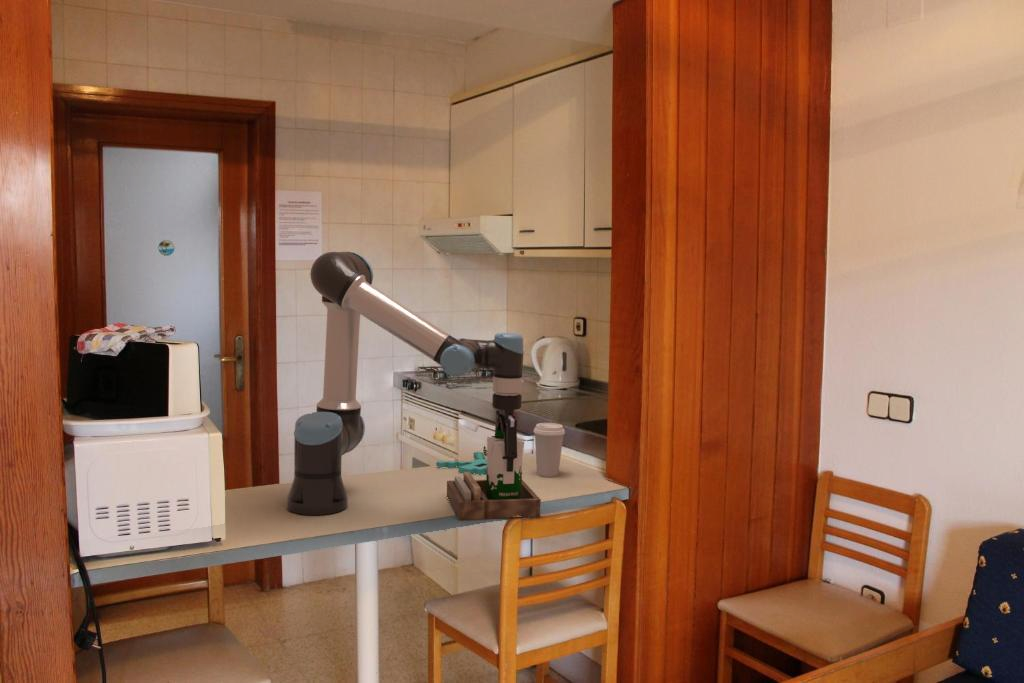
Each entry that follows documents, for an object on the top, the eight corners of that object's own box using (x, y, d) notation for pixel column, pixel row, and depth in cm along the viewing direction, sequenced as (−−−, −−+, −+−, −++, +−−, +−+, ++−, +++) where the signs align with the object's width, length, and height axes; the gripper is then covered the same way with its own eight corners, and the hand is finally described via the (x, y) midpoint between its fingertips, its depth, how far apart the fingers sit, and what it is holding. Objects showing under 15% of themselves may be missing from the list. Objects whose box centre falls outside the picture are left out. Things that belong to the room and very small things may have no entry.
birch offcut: (473, 517, 219) (474, 488, 218) (462, 499, 234) (463, 472, 233) (479, 517, 219) (480, 488, 218) (468, 499, 235) (469, 472, 234)
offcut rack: (459, 520, 216) (459, 502, 215) (446, 497, 235) (447, 480, 235) (540, 517, 220) (540, 499, 220) (520, 494, 240) (521, 478, 240)
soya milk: (512, 500, 234) (515, 427, 232) (525, 510, 226) (528, 434, 224) (481, 502, 231) (484, 428, 229) (493, 512, 223) (496, 435, 221)
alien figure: (436, 469, 267) (487, 481, 255) (436, 461, 267) (487, 473, 255) (477, 458, 283) (527, 469, 271) (478, 451, 283) (527, 462, 271)
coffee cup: (526, 471, 266) (528, 422, 264) (555, 469, 270) (557, 421, 268) (539, 479, 257) (541, 429, 256) (568, 477, 261) (570, 427, 259)
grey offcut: (464, 517, 218) (465, 492, 218) (453, 499, 234) (454, 476, 233) (470, 517, 219) (471, 492, 218) (459, 499, 234) (460, 476, 233)
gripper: (531, 400, 216) (528, 489, 218) (511, 386, 237) (508, 467, 239) (502, 400, 214) (499, 490, 217) (484, 386, 235) (481, 468, 238)
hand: (504, 478), depth 228 cm, fingers closed on soya milk, 9 cm apart
